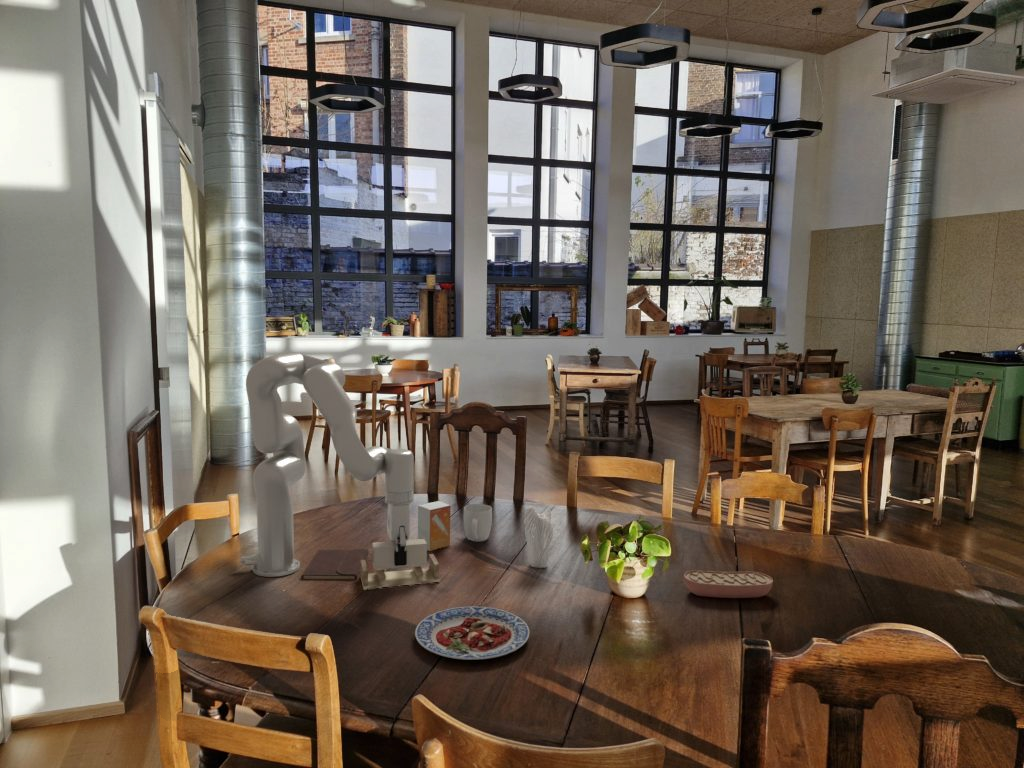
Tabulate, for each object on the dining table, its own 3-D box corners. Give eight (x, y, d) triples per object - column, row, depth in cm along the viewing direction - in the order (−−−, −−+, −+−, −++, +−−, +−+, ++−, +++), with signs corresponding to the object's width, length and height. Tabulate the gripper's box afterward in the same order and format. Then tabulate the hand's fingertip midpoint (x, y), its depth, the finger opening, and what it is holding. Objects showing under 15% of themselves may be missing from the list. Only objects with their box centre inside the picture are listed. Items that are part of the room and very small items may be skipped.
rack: (363, 589, 194) (363, 571, 194) (360, 577, 203) (360, 559, 202) (439, 582, 200) (439, 564, 199) (432, 570, 208) (433, 553, 208)
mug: (465, 533, 241) (466, 503, 240) (493, 534, 240) (493, 504, 239) (459, 546, 228) (459, 514, 227) (488, 548, 227) (488, 516, 226)
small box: (429, 551, 223) (429, 509, 221) (417, 546, 228) (417, 505, 226) (450, 545, 229) (451, 504, 227) (437, 540, 233) (438, 500, 232)
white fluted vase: (553, 561, 217) (554, 501, 215) (552, 571, 209) (553, 509, 207) (525, 559, 218) (526, 499, 216) (522, 569, 210) (524, 508, 208)
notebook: (301, 580, 201) (300, 573, 201) (317, 554, 220) (317, 548, 220) (356, 581, 201) (356, 573, 201) (368, 555, 221) (368, 548, 221)
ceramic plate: (468, 605, 186) (468, 594, 186) (551, 637, 170) (552, 624, 170) (391, 642, 167) (391, 629, 166) (476, 681, 150) (477, 667, 150)
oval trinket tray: (765, 589, 200) (766, 571, 200) (777, 604, 190) (779, 586, 190) (679, 587, 200) (680, 569, 200) (688, 603, 190) (689, 584, 190)
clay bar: (374, 569, 197) (374, 547, 196) (372, 564, 201) (372, 542, 200) (426, 565, 201) (426, 543, 200) (424, 559, 205) (424, 538, 204)
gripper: (381, 488, 205) (381, 552, 208) (389, 505, 189) (389, 574, 192) (408, 487, 207) (408, 550, 210) (418, 503, 192) (418, 572, 194)
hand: (399, 561), depth 201 cm, fingers closed on clay bar, 4 cm apart
